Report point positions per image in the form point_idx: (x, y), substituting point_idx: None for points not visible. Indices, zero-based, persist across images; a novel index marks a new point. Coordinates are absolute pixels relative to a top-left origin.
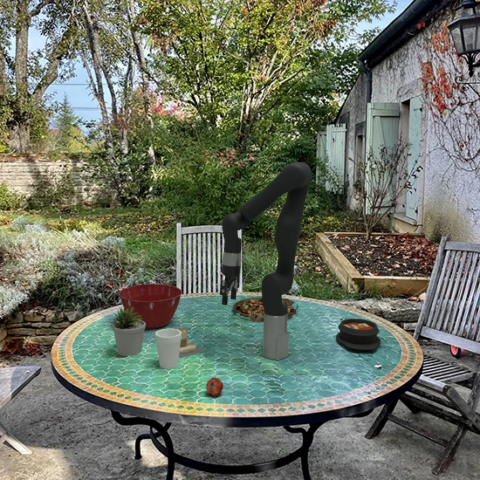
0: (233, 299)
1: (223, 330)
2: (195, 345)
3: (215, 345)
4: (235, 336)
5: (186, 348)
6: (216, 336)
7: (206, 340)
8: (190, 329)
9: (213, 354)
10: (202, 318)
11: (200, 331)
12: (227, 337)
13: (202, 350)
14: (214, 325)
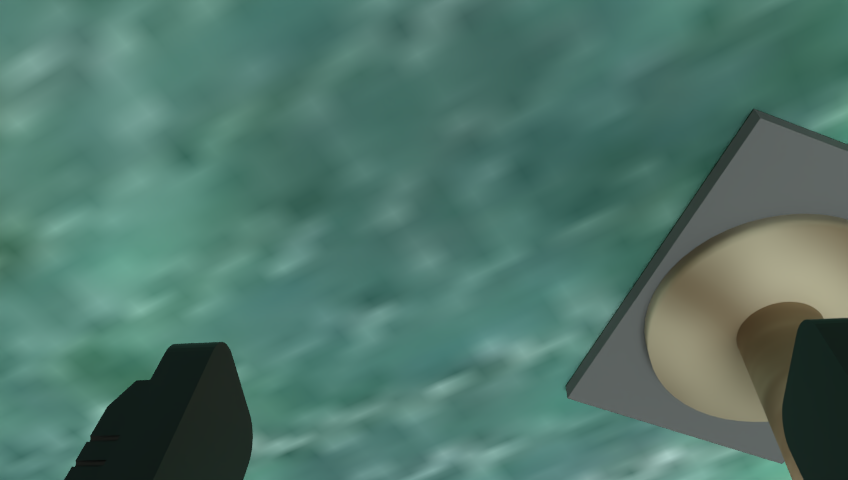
0: (237, 375)
1: (137, 240)
2: (731, 250)
3: (533, 122)
4: (187, 66)
5: (837, 279)
6: (313, 223)
7: (456, 249)
8: (310, 444)
9: (784, 18)
10: (49, 475)
11: (297, 375)
12: (267, 124)
13: (773, 151)
14: (98, 351)
